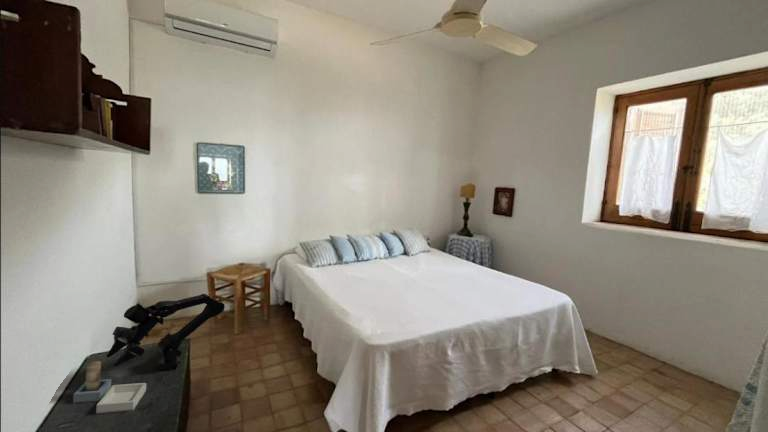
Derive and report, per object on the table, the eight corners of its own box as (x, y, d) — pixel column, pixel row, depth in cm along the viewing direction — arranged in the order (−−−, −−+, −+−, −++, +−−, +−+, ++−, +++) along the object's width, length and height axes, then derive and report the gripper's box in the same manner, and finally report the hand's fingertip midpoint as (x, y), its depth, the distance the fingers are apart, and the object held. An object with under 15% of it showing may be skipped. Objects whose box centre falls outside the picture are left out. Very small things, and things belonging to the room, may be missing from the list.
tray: (112, 393, 128) (112, 385, 127) (146, 390, 131) (146, 382, 131) (96, 413, 117) (96, 405, 116) (133, 410, 120) (133, 401, 120)
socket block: (86, 388, 129) (86, 380, 128) (111, 386, 131) (111, 379, 131) (73, 402, 121) (73, 394, 120) (99, 400, 123) (99, 392, 123)
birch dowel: (89, 391, 127) (90, 361, 126) (102, 390, 129) (103, 360, 127) (82, 398, 123) (83, 368, 122) (96, 397, 124) (97, 367, 123)
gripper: (120, 312, 137) (86, 344, 129) (136, 327, 127) (100, 363, 119) (141, 324, 144) (110, 355, 136) (158, 338, 134) (125, 373, 126)
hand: (110, 361), depth 129 cm, fingers open, 9 cm apart
